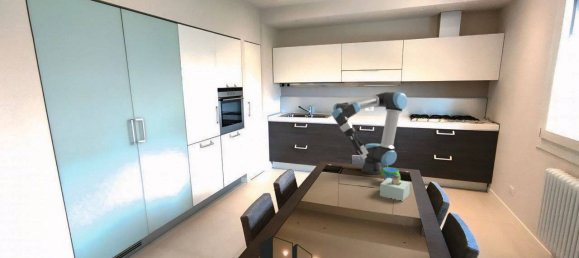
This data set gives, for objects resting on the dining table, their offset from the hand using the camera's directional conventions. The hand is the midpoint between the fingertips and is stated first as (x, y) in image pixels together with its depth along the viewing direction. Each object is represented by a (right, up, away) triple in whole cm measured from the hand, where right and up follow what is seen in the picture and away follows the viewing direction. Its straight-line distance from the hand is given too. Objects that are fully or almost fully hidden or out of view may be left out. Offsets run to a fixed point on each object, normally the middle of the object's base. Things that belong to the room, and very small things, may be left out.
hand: (366, 156), depth 171 cm
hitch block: (+17, -24, -6) cm, 30 cm away
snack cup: (+22, -21, +14) cm, 33 cm away
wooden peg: (+17, -23, -6) cm, 29 cm away
